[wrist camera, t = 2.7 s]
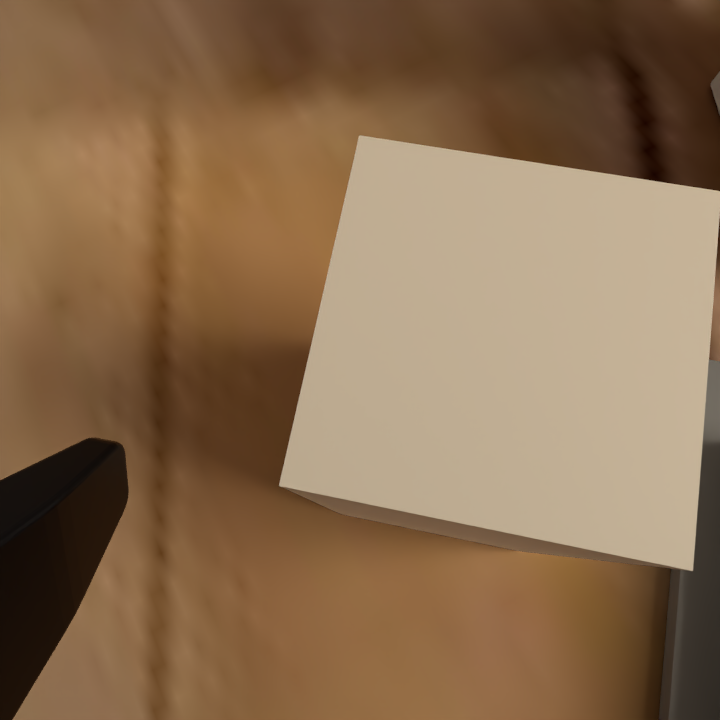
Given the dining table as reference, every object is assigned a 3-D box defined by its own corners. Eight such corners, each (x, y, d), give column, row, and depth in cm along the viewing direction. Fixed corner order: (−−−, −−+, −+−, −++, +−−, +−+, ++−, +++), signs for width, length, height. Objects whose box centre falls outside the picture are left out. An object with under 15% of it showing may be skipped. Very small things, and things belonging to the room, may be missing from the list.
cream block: (517, 550, 18) (692, 570, 8) (340, 514, 19) (279, 485, 8) (540, 378, 20) (721, 191, 9) (374, 347, 20) (360, 135, 9)
